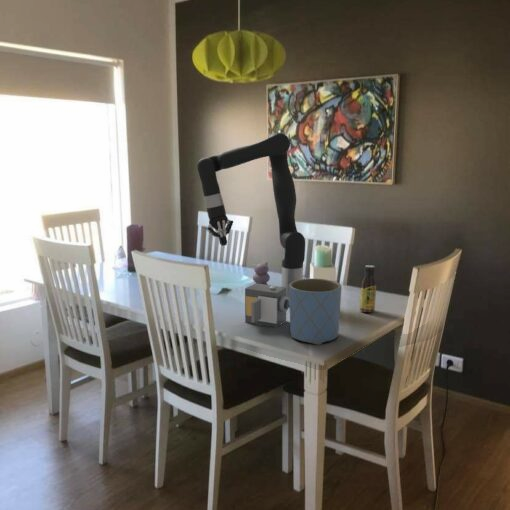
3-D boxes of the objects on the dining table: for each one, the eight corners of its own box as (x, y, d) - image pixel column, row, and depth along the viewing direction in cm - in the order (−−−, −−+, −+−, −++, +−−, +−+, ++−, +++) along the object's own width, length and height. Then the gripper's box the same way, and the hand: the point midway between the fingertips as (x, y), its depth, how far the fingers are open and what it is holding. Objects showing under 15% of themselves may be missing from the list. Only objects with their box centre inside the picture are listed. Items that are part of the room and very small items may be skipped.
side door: (251, 324, 214) (251, 300, 212) (259, 320, 219) (258, 295, 217) (269, 328, 210) (269, 302, 208) (277, 323, 216) (277, 298, 214)
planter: (308, 324, 220) (309, 275, 216) (349, 335, 208) (351, 284, 204) (278, 337, 206) (278, 285, 202) (320, 350, 194) (322, 295, 190)
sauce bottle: (367, 314, 232) (369, 268, 227) (356, 310, 237) (358, 265, 233) (378, 312, 235) (380, 266, 231) (367, 308, 240) (369, 263, 236)
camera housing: (245, 322, 223) (244, 286, 220) (255, 315, 231) (255, 281, 228) (282, 328, 215) (282, 292, 212) (291, 321, 223) (292, 286, 220)
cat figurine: (256, 289, 270) (256, 265, 267) (250, 285, 277) (250, 262, 275) (272, 287, 273) (272, 264, 271) (266, 283, 280) (266, 260, 278)
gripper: (205, 208, 225) (215, 249, 227) (232, 201, 231) (241, 241, 234) (197, 209, 231) (206, 249, 234) (223, 202, 238) (232, 241, 240)
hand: (224, 245), depth 234 cm, fingers closed
